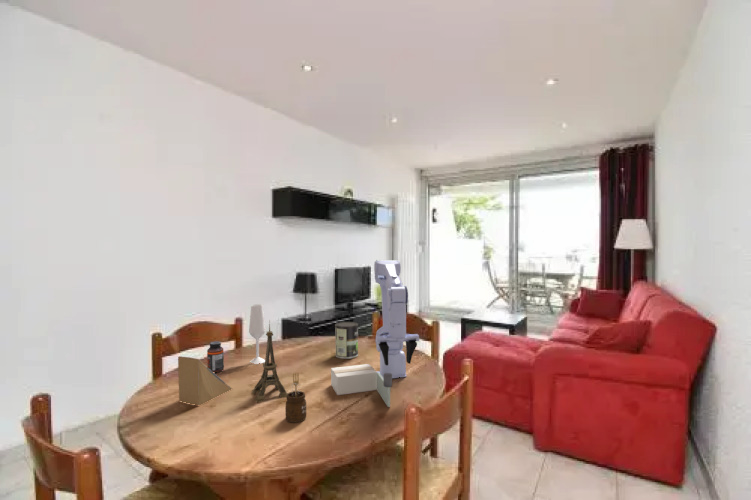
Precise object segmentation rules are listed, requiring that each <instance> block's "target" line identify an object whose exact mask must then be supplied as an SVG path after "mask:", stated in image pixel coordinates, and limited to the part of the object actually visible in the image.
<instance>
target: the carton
mask: <svg viewBox="0 0 751 500" xmlns="http://www.w3.org/2000/svg"><path fill="white" fill-rule="evenodd" d="M330 379H331V380H330V383H331V384H330V385H331V387H332V389H333V390H334V392H335V394H336V396H341V395H342V396H343V395H347V394H349V395H350V394H355V393H363V392H369V391H377V370H375V368H374V367H373V366H372V365H370V363H364V364H355V365H348V366H339V367H337V366H336V367H331V368H330Z"/></svg>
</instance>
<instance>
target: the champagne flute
mask: <svg viewBox="0 0 751 500" xmlns="http://www.w3.org/2000/svg"><path fill="white" fill-rule="evenodd" d="M249 317H250V318H249V326H248V333H249V335H250V336H251V337H253V339H255V357H254V358H253V359H251V360H250V361H249V362H251V363H254V364H253V365H259V363H260V364H263V363H265V359H264V358H262V357H260V340H259V339H261V338H262V337H263V336H264V334H266V333H265V332H267V331H266V321H265V313H264V304H261V303H259V304H258V303H257V304H251V306H250V316H249ZM251 363H250V364H251Z"/></svg>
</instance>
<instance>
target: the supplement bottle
mask: <svg viewBox="0 0 751 500" xmlns="http://www.w3.org/2000/svg"><path fill="white" fill-rule="evenodd" d="M206 354H207V355H206V358H207V362H206V364H207V365H206V366H207V367H208V368H209V369H210V370H211V371H212V372H218V373H220V372H219V371H221V372H222V370H223V371H224V369H225V365H224V362H225V361H224V358H225V357H224V354H225V353H224V347H222V342H221V341H218V340H217V341H211V342H210V343H209V347H208V349H207V351H206Z"/></svg>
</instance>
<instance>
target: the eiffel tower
mask: <svg viewBox="0 0 751 500" xmlns="http://www.w3.org/2000/svg"><path fill="white" fill-rule="evenodd" d="M268 323H269V324H268V326H269V327H268V331H266V333H265V335H266V336H267V340H266V351H265V359H264V360H265V362H264V363H262V367H263V372H262V374H261V375H260V378H259V380H258V382H257V383H256V384H255V386H254V388H253V389H251V393H252V394H257V395H256V397H255V398H254V400H255V403H261V402H265V401H266V400H265V393H266V389H267V388H268V387H269V386H274V388H275V389H276V390H278V392H279V393H278V395H279V397H280V398H281V399H284V398H287V394H288V393H289V392H287V390H286V389H285V386H284V385H283V383H282V382H281V381H280V377H279V375H278V372H277V367H278V365H277V363H276V361H275V355H274V354H275V353H274V346H273V337H272V336H274V332H273V331H271V320H270V319H269V322H268ZM269 371H270V372H271V371H272V374H269Z"/></svg>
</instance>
